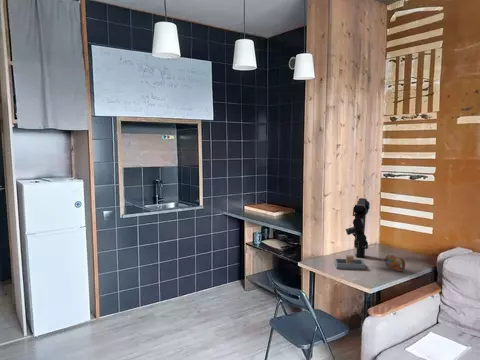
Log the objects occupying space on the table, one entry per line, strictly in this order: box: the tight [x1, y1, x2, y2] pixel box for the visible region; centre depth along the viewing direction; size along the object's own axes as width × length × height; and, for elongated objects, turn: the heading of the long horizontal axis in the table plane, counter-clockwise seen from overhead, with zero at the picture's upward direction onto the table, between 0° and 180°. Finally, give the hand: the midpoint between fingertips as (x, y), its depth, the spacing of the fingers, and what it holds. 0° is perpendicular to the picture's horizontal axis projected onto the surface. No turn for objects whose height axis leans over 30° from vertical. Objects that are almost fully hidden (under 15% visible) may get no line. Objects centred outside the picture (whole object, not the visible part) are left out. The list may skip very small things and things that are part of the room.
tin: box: [384, 254, 406, 272], centre depth 235 cm, size 15×3×8 cm, turn 21°
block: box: [345, 254, 355, 264], centre depth 239 cm, size 4×4×6 cm
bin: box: [333, 258, 366, 271], centre depth 239 cm, size 11×18×4 cm, turn 83°
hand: (358, 246), depth 248 cm, fingers open, 9 cm apart
